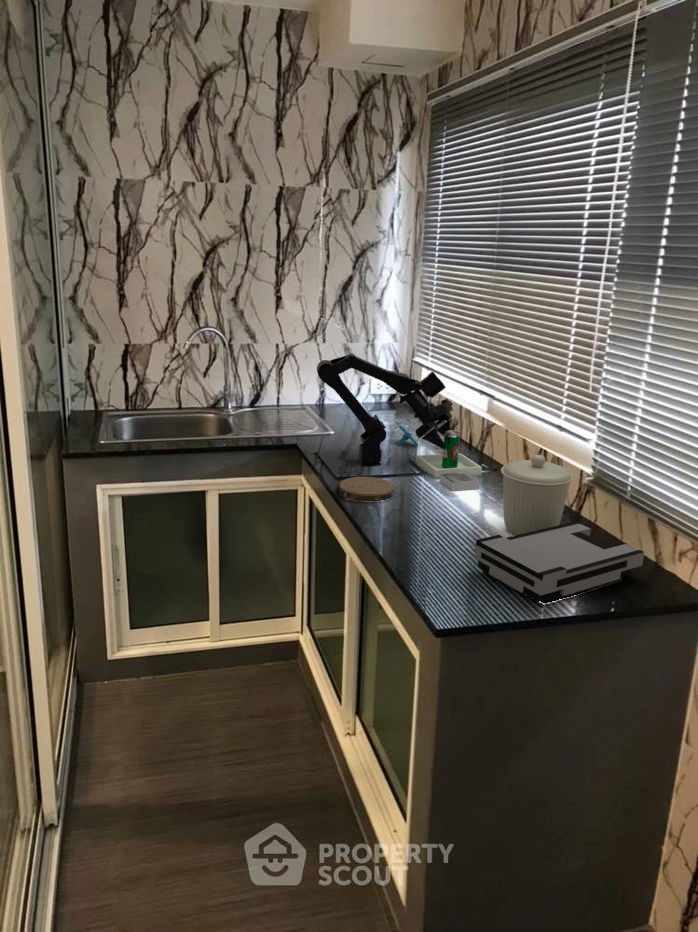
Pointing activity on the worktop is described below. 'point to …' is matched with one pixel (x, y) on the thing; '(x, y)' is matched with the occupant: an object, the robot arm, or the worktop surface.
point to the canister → (534, 494)
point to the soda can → (451, 449)
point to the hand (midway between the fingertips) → (450, 445)
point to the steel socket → (459, 481)
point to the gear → (406, 437)
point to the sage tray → (434, 468)
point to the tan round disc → (366, 489)
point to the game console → (555, 561)
